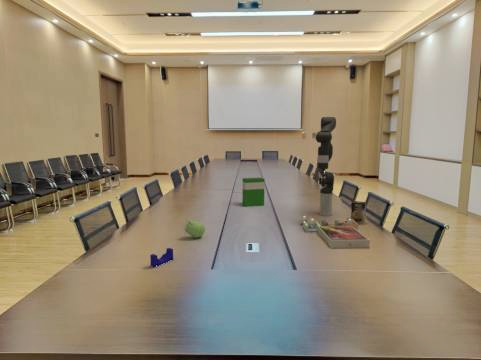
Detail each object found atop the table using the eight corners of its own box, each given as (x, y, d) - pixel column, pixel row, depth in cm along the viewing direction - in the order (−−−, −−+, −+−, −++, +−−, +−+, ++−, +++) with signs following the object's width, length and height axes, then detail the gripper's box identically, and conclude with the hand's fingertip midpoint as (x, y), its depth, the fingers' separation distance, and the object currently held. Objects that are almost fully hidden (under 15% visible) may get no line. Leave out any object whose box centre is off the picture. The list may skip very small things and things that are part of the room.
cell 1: (299, 223, 235) (300, 214, 234) (306, 223, 234) (306, 214, 233) (301, 225, 230) (301, 215, 229) (307, 225, 230) (307, 215, 229)
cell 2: (307, 226, 222) (307, 216, 221) (314, 226, 222) (314, 216, 221) (308, 228, 217) (309, 218, 216) (315, 228, 217) (316, 218, 216)
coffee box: (350, 224, 232) (351, 202, 230) (351, 222, 237) (352, 200, 235) (364, 226, 228) (365, 203, 225) (365, 224, 233) (366, 201, 231)
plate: (325, 225, 222) (325, 224, 222) (334, 225, 222) (334, 224, 222) (327, 228, 216) (327, 226, 216) (337, 228, 216) (337, 226, 216)
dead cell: (345, 227, 221) (345, 216, 220) (351, 227, 221) (352, 217, 220) (347, 229, 217) (347, 218, 216) (354, 229, 217) (354, 218, 216)
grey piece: (302, 227, 225) (302, 219, 224) (355, 227, 225) (356, 219, 224) (305, 232, 214) (305, 223, 214) (361, 232, 214) (361, 223, 213)
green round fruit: (196, 233, 211) (196, 216, 209) (207, 237, 203) (207, 220, 201) (180, 237, 203) (180, 220, 201) (191, 242, 195) (191, 223, 193)
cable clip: (166, 258, 170) (166, 247, 169) (173, 260, 168) (172, 248, 167) (148, 266, 160) (148, 254, 159) (155, 268, 158) (154, 256, 157)
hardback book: (261, 203, 299) (261, 177, 296) (264, 205, 292) (264, 178, 289) (242, 205, 294) (242, 178, 291) (245, 206, 287) (245, 179, 284)
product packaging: (330, 249, 185) (331, 240, 184) (317, 233, 213) (317, 226, 212) (369, 248, 186) (369, 239, 185) (350, 233, 214) (351, 225, 213)
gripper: (330, 162, 219) (329, 187, 222) (325, 160, 234) (324, 183, 236) (319, 162, 220) (318, 186, 222) (315, 160, 234) (314, 183, 236)
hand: (321, 185), depth 229 cm, fingers open, 8 cm apart
